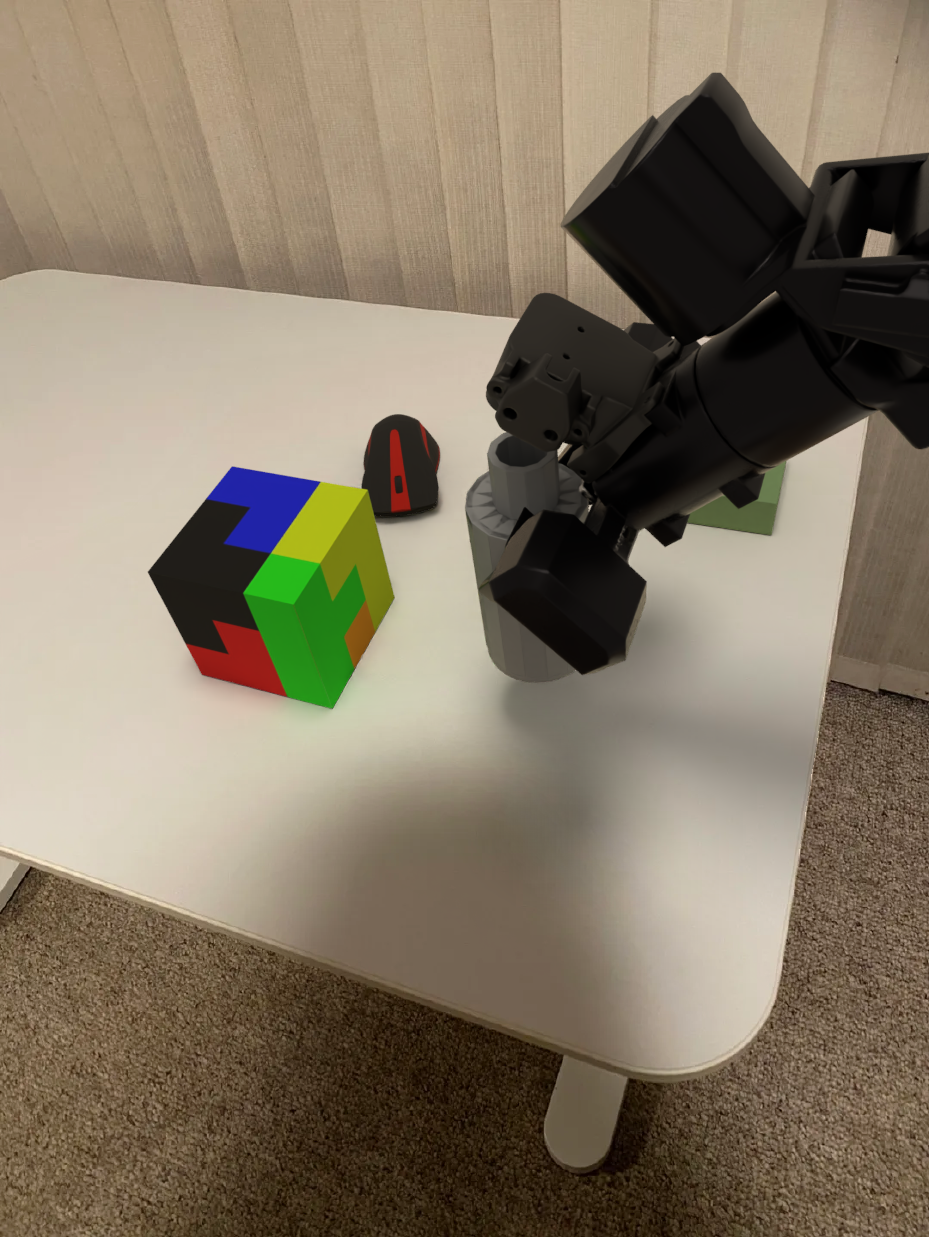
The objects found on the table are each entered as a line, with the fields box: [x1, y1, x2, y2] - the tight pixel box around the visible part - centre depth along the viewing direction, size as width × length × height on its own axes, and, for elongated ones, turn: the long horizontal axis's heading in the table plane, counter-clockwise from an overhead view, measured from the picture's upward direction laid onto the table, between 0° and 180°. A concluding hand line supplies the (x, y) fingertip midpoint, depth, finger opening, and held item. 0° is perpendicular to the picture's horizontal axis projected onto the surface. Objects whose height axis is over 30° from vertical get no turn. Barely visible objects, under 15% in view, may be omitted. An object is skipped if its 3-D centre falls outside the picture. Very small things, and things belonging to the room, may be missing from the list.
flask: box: [464, 431, 590, 684], centre depth 48 cm, size 6×6×14 cm
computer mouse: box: [360, 413, 441, 518], centre depth 72 cm, size 6×11×4 cm, turn 4°
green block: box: [687, 461, 787, 536], centre depth 68 cm, size 8×8×3 cm
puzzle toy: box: [147, 465, 396, 710], centre depth 60 cm, size 10×10×10 cm
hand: (507, 550), depth 49 cm, fingers closed on flask, 6 cm apart
